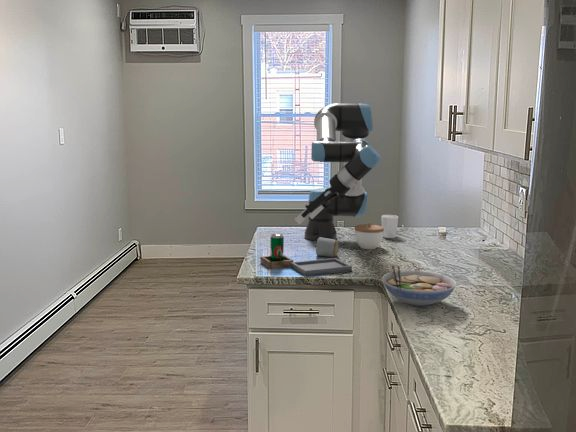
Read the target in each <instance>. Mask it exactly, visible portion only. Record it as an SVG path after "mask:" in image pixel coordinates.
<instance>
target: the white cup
mask: <svg viewBox="0 0 576 432" xmlns="http://www.w3.org/2000/svg"><path fill="white" fill-rule="evenodd" d="M380 223H381V225H380V226H382V227H383V228H384V231H383V238H385V239H395V238H397V231H398V225H399V224H398V223H399V216H398V215H396V214H382V215H381V220H380Z"/></svg>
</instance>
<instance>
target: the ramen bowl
mask: <svg viewBox="0 0 576 432" xmlns="http://www.w3.org/2000/svg"><path fill="white" fill-rule="evenodd" d="M400 267H401V266H399V265H397V271H396V269H395V266H394V265H392V266H391V269H392V271H391V272H387V273H385V274H384V275H383V276H381V280H382V283H383V285H384V286H385V287H386V289H387V290H388V292H389V293H390V295H391V296H392V297H394V298H395V299H397V300H399V301H401V302H404V303H405V304H407V305H409V306H413V307H427V306H429V305H433V304H438V303H440V302H442V301H443V300H446V299H447V298H448V297H449V296H450V295H451V294H452V292H453V291H454V290H455V288H456V286H457V283H458V282H457V281H456V280H455V279H454V278H452V277H451V276H447V275H445V274H442V273H438V272H432V271H423V270H400Z"/></svg>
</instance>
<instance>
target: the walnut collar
mask: <svg viewBox="0 0 576 432" xmlns="http://www.w3.org/2000/svg"><path fill="white" fill-rule="evenodd" d="M291 262H294V259H292V258H290V257H288V256H287V255H285V254H283V261H275V262H270V255H266V256H265V255H264V256H263V255H262V256H260V264H261V265H263V266H264V267H266V268H268V269H269V270H274V269H284V268H285V269H286V268H291Z"/></svg>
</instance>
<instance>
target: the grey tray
mask: <svg viewBox="0 0 576 432" xmlns="http://www.w3.org/2000/svg"><path fill="white" fill-rule="evenodd" d="M290 268H291V269H292V270H295V272H297V271H298V272H297V273H299V274H301V275H302V274H303V275H302V276H304V277H311V276H312V277H313V276H320V275H330V274H339V272H341V273H346V271H350V272H352V271H353V270H352V268H353V267H352V265H350V264H349V263H346V262H345V261H343V260H340V259H339V258H336V257H330V258H322V259H312V260H301V261H300V260H299V261H293V262H291V267H290Z"/></svg>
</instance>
